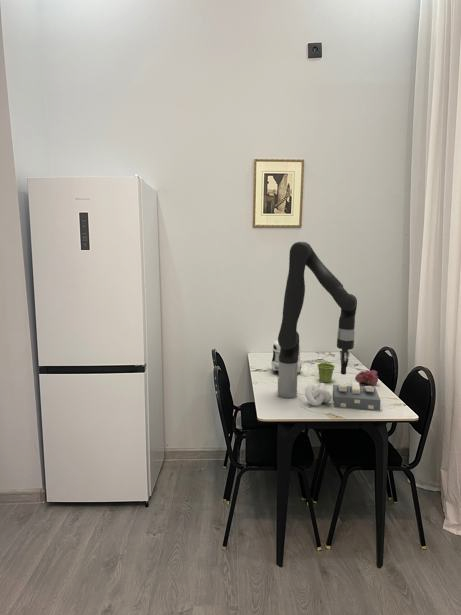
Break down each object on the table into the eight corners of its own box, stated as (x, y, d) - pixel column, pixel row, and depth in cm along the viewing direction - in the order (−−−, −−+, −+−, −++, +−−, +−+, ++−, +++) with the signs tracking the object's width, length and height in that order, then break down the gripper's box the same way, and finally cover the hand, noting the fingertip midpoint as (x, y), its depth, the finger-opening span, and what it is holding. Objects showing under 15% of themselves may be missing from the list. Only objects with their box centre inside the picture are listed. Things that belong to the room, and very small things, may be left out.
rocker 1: (339, 391, 187) (339, 387, 187) (338, 385, 194) (338, 382, 194) (346, 391, 186) (346, 387, 186) (345, 386, 193) (345, 382, 193)
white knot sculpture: (313, 410, 181) (314, 391, 180) (299, 400, 192) (299, 382, 190) (334, 406, 185) (334, 387, 184) (318, 397, 196) (319, 379, 195)
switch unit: (334, 407, 184) (334, 391, 183) (332, 394, 200) (333, 380, 198) (380, 410, 180) (380, 395, 179) (374, 397, 196) (375, 382, 194)
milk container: (300, 367, 241) (300, 338, 238) (302, 377, 224) (303, 346, 221) (271, 367, 243) (271, 338, 240) (271, 376, 226) (271, 345, 223)
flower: (356, 387, 218) (362, 370, 221) (374, 393, 212) (380, 375, 215) (351, 380, 209) (357, 363, 212) (370, 386, 203) (376, 368, 206)
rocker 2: (352, 393, 186) (352, 390, 186) (351, 384, 193) (351, 381, 192) (360, 394, 186) (360, 390, 185) (358, 385, 192) (359, 382, 191)
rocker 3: (366, 391, 184) (366, 387, 185) (364, 389, 191) (364, 385, 191) (374, 391, 184) (374, 387, 184) (371, 389, 191) (371, 386, 191)
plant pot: (337, 380, 219) (338, 365, 217) (328, 385, 212) (329, 369, 211) (322, 376, 225) (322, 362, 224) (313, 381, 218) (313, 365, 217)
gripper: (336, 334, 191) (334, 368, 194) (338, 340, 178) (335, 378, 181) (352, 335, 189) (350, 370, 192) (355, 341, 176) (352, 379, 179)
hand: (343, 373), depth 186 cm, fingers closed
